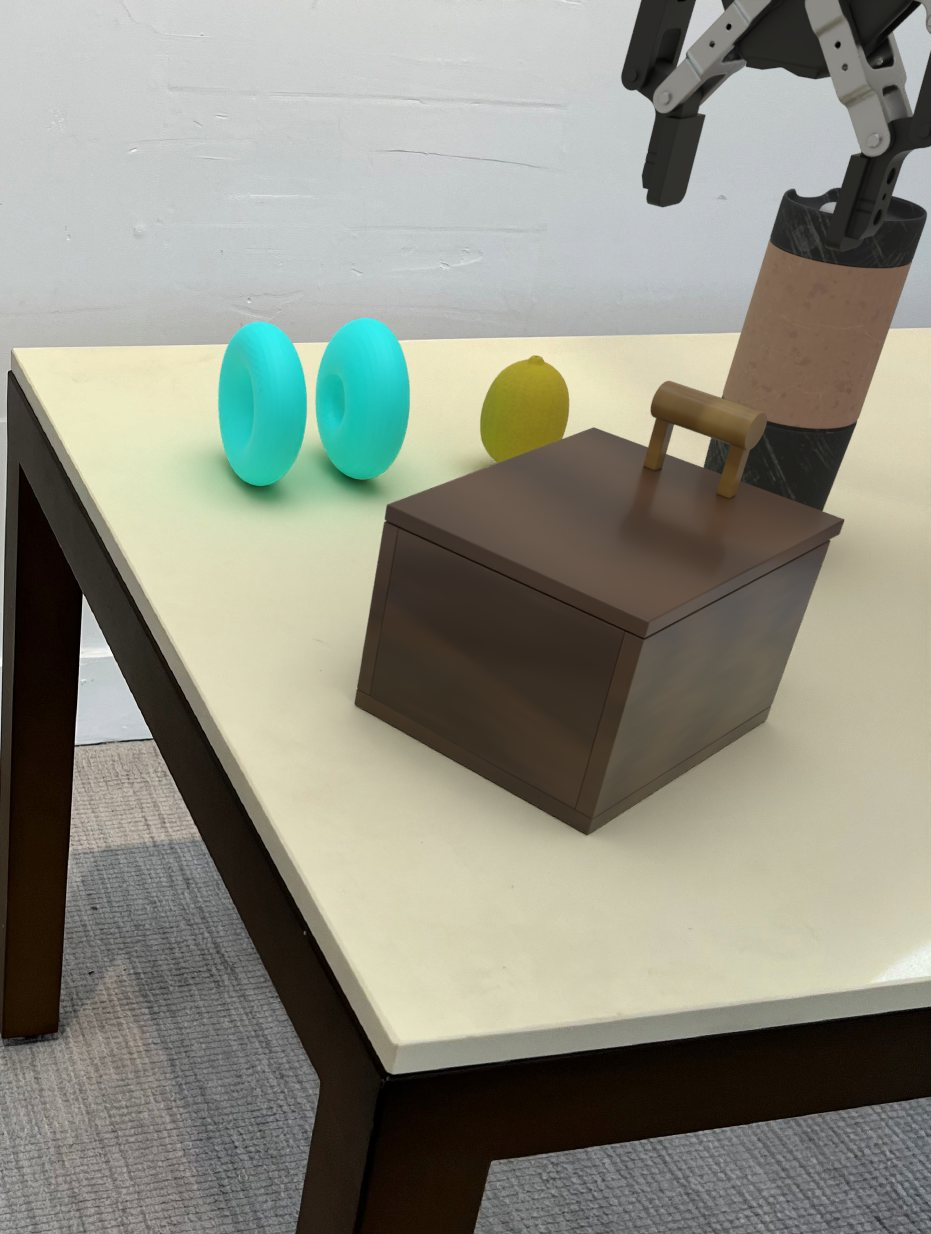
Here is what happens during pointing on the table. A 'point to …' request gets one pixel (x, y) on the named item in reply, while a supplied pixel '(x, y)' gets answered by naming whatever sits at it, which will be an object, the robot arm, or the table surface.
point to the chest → (568, 677)
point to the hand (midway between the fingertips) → (749, 224)
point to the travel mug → (815, 342)
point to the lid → (625, 517)
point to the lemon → (524, 409)
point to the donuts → (345, 401)
